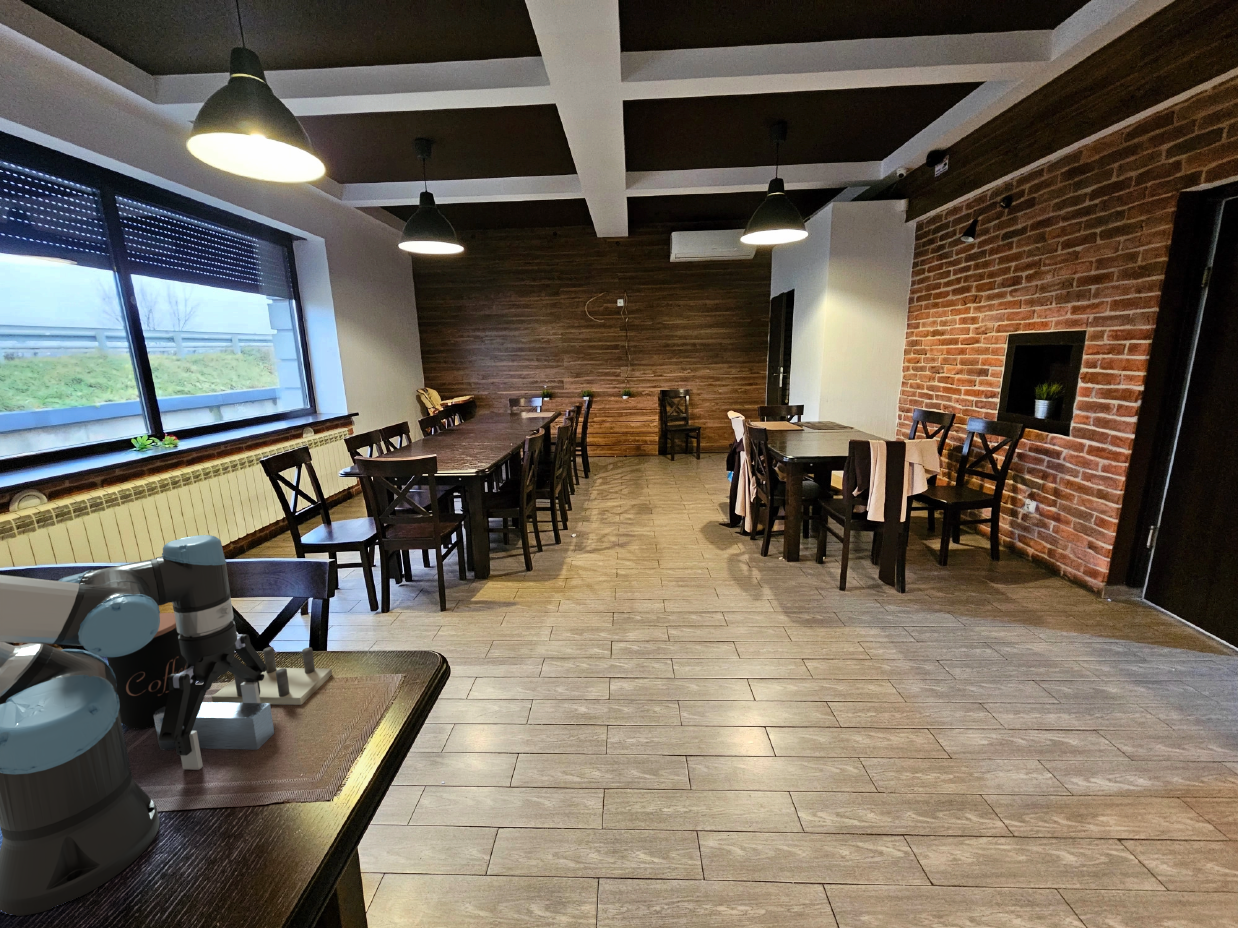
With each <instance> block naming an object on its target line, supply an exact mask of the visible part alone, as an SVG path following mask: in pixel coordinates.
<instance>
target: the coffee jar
mask: <svg viewBox="0 0 1238 928" xmlns="http://www.w3.org/2000/svg"><path fill="white" fill-rule="evenodd" d="M179 635H180V633H178V632H177V628H176V622H175V616H174V612H160V625H159V630H158V632H157V633H156V635H155V636H154V637H153V639H152V640H151V641H150V642H149V643H148V644H146V645H145V646H144V647H142V648H141V649H139V650H137V651H135V652H133V653H130V654H127V655H124V656H119V657H106V659H107V664H108V665H109V666H110V667H111V668H112V670H113V672H114V674H115V677H116V684H117V687H116V689H117V695H118V698H119V703H120V709H119V711H120V717H121V722H122V726H125V727H126V728H129V730H131V729H132V730H143V729H144V730H145V729H149V728H153V727H156V726H155V721H154V713H155V712H156V711H157V710H158V709H160V708H161V707H163V706H165V705H166V703H167V698H168V694H169V681H168V678H169V676H170V675H171V674H179V673H181V672H183V671H185V670H186V667H187V660H186V659H185V658H184V657H183V656H182V654H181V650H180V645H179V639H178V636H179Z"/></svg>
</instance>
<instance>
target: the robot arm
mask: <svg viewBox="0 0 1238 928" xmlns="http://www.w3.org/2000/svg"><path fill="white" fill-rule="evenodd" d="M169 603H171V604H172V609H173V613H174V616H175V622H176V628H177V632H178V633H180V635H179V636H178V639H179V645H180V650H181V654H182V656H183V657H184V658H185V659H186V660H187V667H186V670H185V671H183V672H181V673H179V674H171V675H170V676H169V678H168V681H169V694H168V698H167V703H166V707H165V712H164V717H163V721H162V726H161V731H160V735H159V741H174V742H175V747H176V749H175V750H176V751H175V752H176V755H177V756H180V759H181V765H182V769H183V770H200V769H202V767H203V766H204V765H203V760H202V755H201V754H202V753H201V748H200V747H199V741H198V735H197V731H192V729H193V726H194V723H195V721H196V718H197V715H198V713H199V710H200V707H201V705H202V702H204V699H205V696H206V693H207V691H209V690H210V689H211V688H212V685H213V683H215V681H217V680H218V679H219V678H220V677H221V676H223V675H225V674H226V673H228V672H229V673H230V674H233V676H234V675H236V676H237V677H239V678H241V679H243V680H245V681H246V682H243V683H242V684H240V685H241V692H242V698H243V703H260V696H259V695H260V687H259V686H260V685H259V681H262V680H263V679H264V674H261V673H262V672H265V671H266V670H267V666H266V664H265V661H264V660H263V659H262V658H261V656H260V654H259V653H258V652H257V650H256V649H255V648H254V646H253V644H251V639H250V638H251V637H250V634H244V633H243V634H242V633H241V634H237V628H236V627H237V626H236V623H235V620H234V611H233V604H232V599H231V591H230V584H229V577H228V568H227V560H226V557H225V553H224V550H223V545H222V541H221V539H220V538H218V537H217V536H215V535H208V534H203V535H192V536H185V537H182V538H179V539H174V540H171V541H168V542H166V543H165V544H164V545H163V546H162V553H161V556H158V557H155V558H151V559H147V560H141V561H137V562H135V561H134V562H131V563H125V564H120V565H116V566H115V565H114V566H111V567H105V568H100V569H92V570H91V569H89V570H86V571H84V572H82V573H81V572H80V573H77V574H73V575H69V576H64V577H61V578H60V579H58V580H51V579H41V578H33V577H24V576H15V575H5V574H0V831H1V832H0V833H1V835H2V841H1V845H0V910H2V911H3V912H6V913H7V914H13V915H16V917H17V916H19V917H20V916H21V917H22V916H28V915H35V914H38V913H43V912H46V911H50V910H53V909H52V907H55V906H57V905H61V904H63V903H65V902H68V901H70V902H72V899H75V900H77V899H79V898H81V897H82V896H85V895H86V894H88V893H90V892H92V891H94V890H95V889H97V888H99V887H100V886H103V885H104V884H107V883H108V882H109V881H111V879H113V878H114V877H117V876H118V875H119V874H120V873H121V872H123V871H125V869H127V868H128V867H129V866H130V865H131V864H133V862H135V861H136V860H137V859H138V858H140V856H141V855H142V854H143V853H144V852H145V851H146V850H147V849H148V847H149V846H150V845H151V843H152V842H153V841H154V839H155V837H156V836H157V833H158V831H159V829H160V816H159V811H158V807H157V805H156V803H155V801H153V800H152V798H151V797H150V796H149V795H148V794H147V793H146V792H145V791H144V790H143V788H141V786H140V785H139V784H138V783H137V782H136V780H134V778H133V774H132V768H131V762H130V759H129V754H128V753H129V752H128V748H127V743H126V738H125V733H124V728H123V724H122V722H121V717H120V711H119V709H120V703H119V698H118V695H117V689H116V687H117V684H116V677H115V674H114V672H113V670H112V668H111V667H110V666H109V665H108V661H107V662H106V660H104V659H103V658H107V657H119V656H124V655H127V654H130V653H133V652H135V651H137V650H139V649H141V648H142V647H144V646H145V645H146V644H148V643H149V642H150V641H151V640H152V639H153V637H154V636H155V635H156V633H157V632H158V630H159V625H160V613H161V611H160V606H163V605H166V604H169ZM11 643H13V644H16V643H17V644H20V645H12V644H11ZM51 645H59V646H60V645H62V646H77V647H78V646H79V647H83V648H84V649H85V650H84V649H77V648H64V649H59V648H56V647H53V646H51ZM235 653H236V654H237V655H238V657H239V658H240V659H241V660H240V659H238V658H237V657H236V656H235ZM102 657H103V658H102ZM197 682H199V683H202V684H197ZM183 726H184V728H182V727H183ZM78 897H79V898H78ZM76 898H77V899H76ZM68 903H69V902H68ZM63 905H64V904H63ZM61 906H62V905H61ZM55 908H56V907H55Z"/></svg>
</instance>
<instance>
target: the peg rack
mask: <svg viewBox="0 0 1238 928" xmlns="http://www.w3.org/2000/svg"><path fill="white" fill-rule="evenodd" d="M274 649H275V648H274V647H273V646H269V647H266V648H264V649H263V650H262V653H263V657H264V660H263V661H264V663H265V664H266V666H267V670H266V671H265V672H262V673H261V674H264V679H263V680H262V681H259V685H260V686H259V687H260V695H259V696H260V703H270V705H292V706H296V705H299V706H301V705H303V704H304V703H305V702H306V701H307V699H309V698H310V697H311V696H312V695H313V694H314V693H316V691H317V690H318V689H319V688H320V687H321V686H322V685H324V683H326V681H327V680H329V679H330V678H331V677H332V676H333V673H332V672H333V670H332V668H325V667H324V668H323V667H322V668H318V667H315V661H314V660H315V659H314V653H313V652H314V651H313V647H305V648H303V649H302V651H301V652H302V659H303V667H277V664H276V656H275V651H274ZM331 675H332V676H331ZM330 676H331V677H330ZM233 677H234V679H232V681H230V682H228V684H226V685H225V686H224V687H222V688H221V689H220V690H218V691H217V692H216V693H214V694H213V695H211V702H221V703H243V698H242V692H241V685H240V684H242V683H243V682H246V681H245V680H243V679H241V678H239V677H237V676H236V675H234V674H233ZM329 677H330V678H329Z"/></svg>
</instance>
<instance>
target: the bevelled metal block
mask: <svg viewBox="0 0 1238 928" xmlns="http://www.w3.org/2000/svg"><path fill="white" fill-rule="evenodd" d="M165 707H166V705H165V706H163V707H161V708H160V709H158V710H157V711H156V712H155V713H154V721H155V726H154V727H155V731H156V736H157V741H158V742H157V743H158V745H159V746H158V747H159V749H160V750H162V751H172V750H176V747H175V742H174V741H159V735H160V731H161V726H162V721H163V717H164V712H165ZM273 721H274V720H273V715H272V708H271V704H270V703H221V702H212V701H211V702H210V701H208V702H207V701H203V702H202V705H201V707H200V710H199V713H198V715H197V718H196V721H195V723H194V726H193V729H192V731H197V735H198V741H199V747H200V749H202V750H203V749H204V750H205V749H207V750H208V749H209V750H210V749H211V750H212V749H213V750H250V751H251V750H256V751H257V750H259V749H260V748H261V747H262V746H263V745H264V744H265V743H266V742H267V741H268V740H269V739H271V737H273V735H274V734H275V729H274V723H273ZM182 728H184V726H183V727H182Z"/></svg>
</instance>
